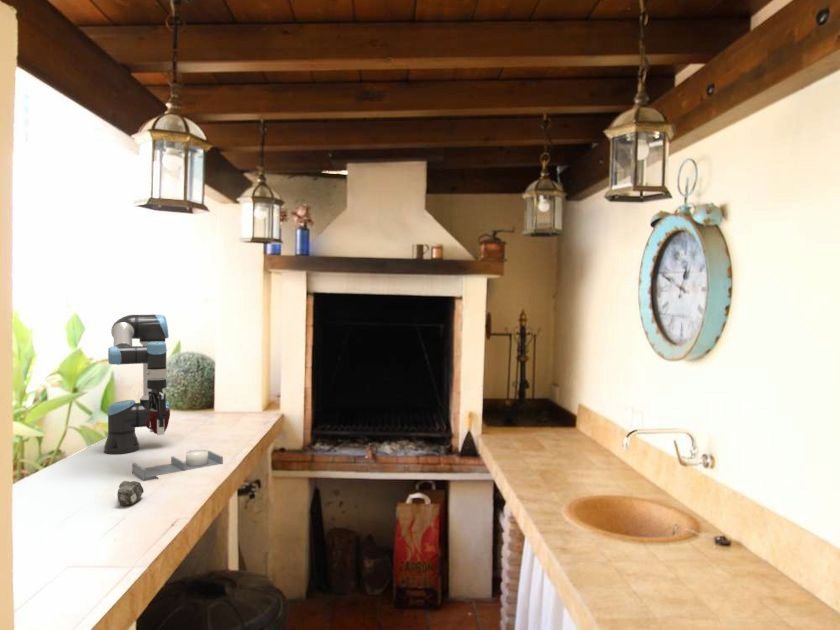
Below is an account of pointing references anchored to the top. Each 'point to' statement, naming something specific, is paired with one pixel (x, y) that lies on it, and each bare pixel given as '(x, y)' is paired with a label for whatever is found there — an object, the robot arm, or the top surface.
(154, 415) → the red cup
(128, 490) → the stone
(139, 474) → the rack
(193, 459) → the white egg shape
